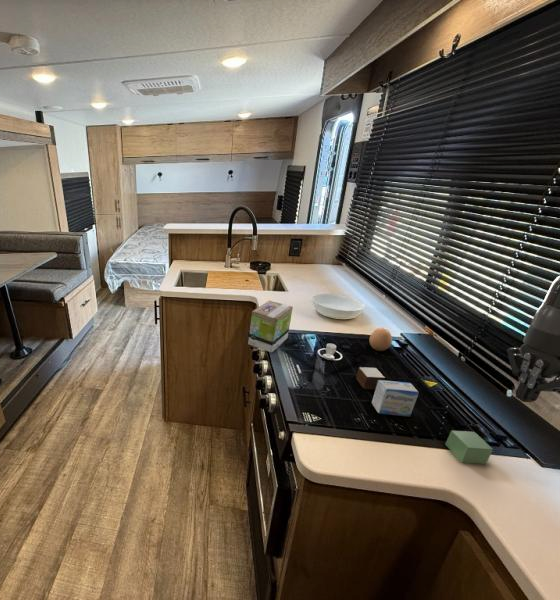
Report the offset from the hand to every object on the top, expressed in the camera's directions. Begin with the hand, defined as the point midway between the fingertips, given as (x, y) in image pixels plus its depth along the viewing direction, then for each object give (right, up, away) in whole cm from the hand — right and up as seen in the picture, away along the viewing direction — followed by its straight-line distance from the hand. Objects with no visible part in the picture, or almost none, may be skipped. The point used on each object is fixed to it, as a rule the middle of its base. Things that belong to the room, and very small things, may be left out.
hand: (523, 399), depth 66 cm
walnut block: (-13, -5, +30) cm, 33 cm away
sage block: (-7, -15, +6) cm, 17 cm away
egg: (+3, +3, +48) cm, 48 cm away
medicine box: (-14, -10, +19) cm, 26 cm away
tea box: (-35, +5, +55) cm, 66 cm away
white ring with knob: (-19, +1, +46) cm, 50 cm away
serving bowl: (+3, +14, +77) cm, 78 cm away
